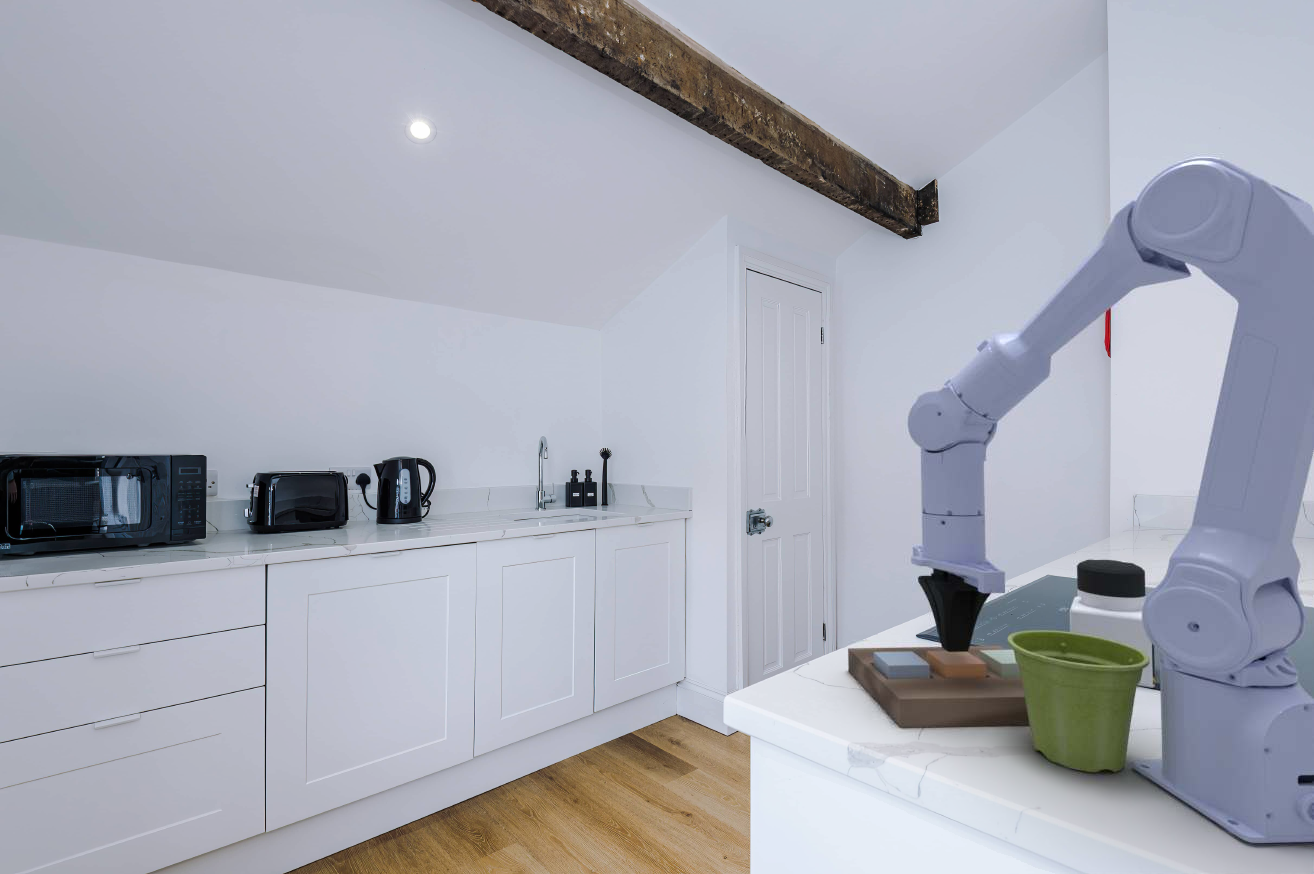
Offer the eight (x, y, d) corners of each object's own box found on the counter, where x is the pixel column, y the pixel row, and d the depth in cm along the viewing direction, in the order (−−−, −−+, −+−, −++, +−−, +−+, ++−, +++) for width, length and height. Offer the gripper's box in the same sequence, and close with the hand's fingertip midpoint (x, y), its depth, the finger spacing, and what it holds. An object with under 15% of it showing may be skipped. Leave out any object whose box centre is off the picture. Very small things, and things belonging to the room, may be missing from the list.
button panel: (1090, 723, 55) (1089, 695, 55) (900, 727, 55) (899, 698, 55) (1000, 668, 69) (999, 645, 69) (848, 670, 69) (848, 648, 69)
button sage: (1043, 687, 60) (1042, 662, 60) (1002, 688, 60) (1001, 663, 60) (1018, 672, 64) (1017, 649, 64) (979, 673, 64) (979, 650, 64)
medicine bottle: (1155, 689, 63) (1152, 570, 63) (1070, 674, 67) (1068, 563, 68) (1153, 669, 69) (1150, 559, 69) (1075, 656, 73) (1073, 553, 73)
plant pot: (1020, 719, 56) (1018, 623, 57) (1153, 750, 50) (1151, 642, 51) (998, 759, 49) (996, 649, 49) (1151, 801, 43) (1148, 675, 43)
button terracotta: (986, 688, 60) (986, 663, 60) (945, 689, 60) (945, 664, 60) (965, 673, 64) (964, 650, 64) (926, 674, 64) (926, 650, 64)
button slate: (930, 689, 60) (929, 664, 60) (889, 690, 60) (888, 665, 60) (912, 674, 64) (912, 651, 64) (873, 675, 64) (873, 651, 64)
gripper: (885, 506, 70) (887, 628, 69) (948, 522, 55) (951, 676, 55) (947, 506, 70) (949, 628, 70) (1027, 521, 55) (1030, 675, 55)
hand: (955, 649), depth 62 cm, fingers closed
